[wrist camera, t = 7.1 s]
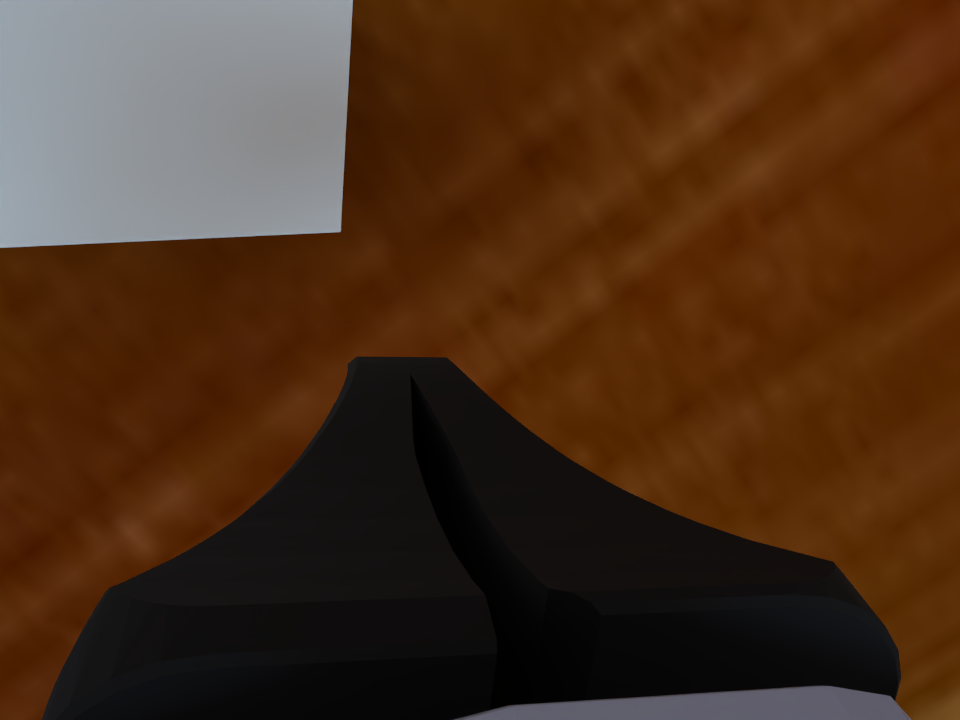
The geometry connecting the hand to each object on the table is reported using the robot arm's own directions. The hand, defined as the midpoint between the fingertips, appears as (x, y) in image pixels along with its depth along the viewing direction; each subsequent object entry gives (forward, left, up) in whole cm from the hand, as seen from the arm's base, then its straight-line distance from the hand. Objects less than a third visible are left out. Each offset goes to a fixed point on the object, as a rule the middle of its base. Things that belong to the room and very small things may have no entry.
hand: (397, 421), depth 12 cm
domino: (-1, +2, -10) cm, 10 cm away
